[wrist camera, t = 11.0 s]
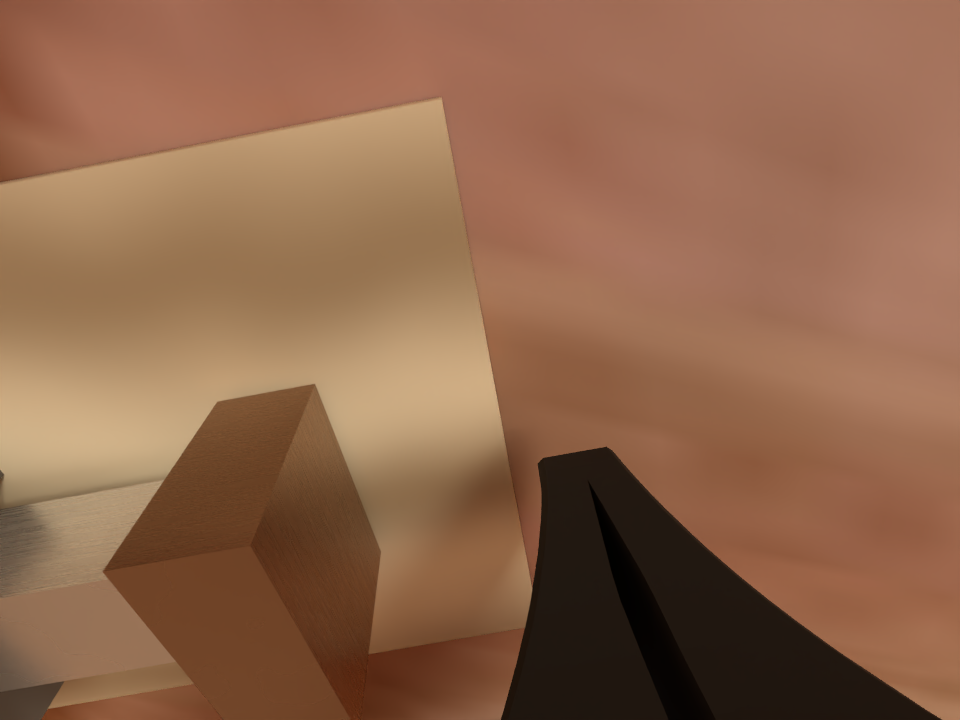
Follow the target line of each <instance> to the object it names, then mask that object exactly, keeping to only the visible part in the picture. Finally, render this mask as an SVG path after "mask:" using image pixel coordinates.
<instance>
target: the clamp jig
mask: <svg viewBox="0 0 960 720" xmlns="http://www.w3.org/2000/svg"><path fill="white" fill-rule="evenodd" d="M311 384H315V385H316V387H317V390H318V393H319V395H320V398H321V400H322V403H323V405H324V408H325V410H326V413H327V415H328V418H329V421H330V423H331V426H332V428H333V431H334V433H335V436H336V438H337V441H338V443H339V446H340V449H341V451H342V454H343V456H344V459H345V461H346V464H347V466H348V469H349V471H350V474H351V477H352V479H353V482H354V484H355V487H356V489H357V492H358V494H359V497H360V499H361V502H362V505H363V507H364V510H365V512H366V515H367V517H368V520H369V522H370V525H371V527H372V530H373V532H374V535H375V538H376V540H377V543H378V545H379V548H380V550H381V557H380V565H379V573H378V581H377V590H376V598H375V606H374V614H373V622H372V631H371V639H370V647H369V654H374V653H379V652H385V651H391V650H397V649H403V648H409V647H415V646H421V645H427V644H432V643H438V642H444V641H450V640H456V639H462V638H468V637H474V636H480V635H485V634H491V633H497V632H503V631H509V630H515V629H521V628H525V626H526V621H527V616H528V611H529V606H530V601H531V595H532V585H531V580H530V574H529V569H528V563H527V558H526V552H525V547H524V542H523V536H522V531H521V525H520V520H519V515H518V509H517V504H516V498H515V493H514V487H513V482H512V477H511V471H510V466H509V460H508V455H507V449H506V444H505V439H504V433H503V428H502V422H501V417H500V412H499V406H498V401H497V395H496V390H495V384H494V379H493V374H492V368H491V363H490V357H489V352H488V346H487V341H486V336H485V330H484V325H483V319H482V314H481V309H480V303H479V298H478V292H477V287H476V281H475V276H474V271H473V265H472V260H471V254H470V249H469V243H468V238H467V233H466V227H465V222H464V216H463V211H462V206H461V200H460V195H459V189H458V184H457V178H456V173H455V168H454V162H453V157H452V151H451V146H450V141H449V135H448V130H447V124H446V119H445V113H444V108H443V103H442V97H437V98H432V99H427V100H421V101H416V102H411V103H406V104H401V105H396V106H391V107H386V108H380V109H375V110H370V111H365V112H360V113H355V114H350V115H344V116H339V117H334V118H329V119H324V120H319V121H314V122H308V123H303V124H298V125H293V126H288V127H283V128H278V129H273V130H267V131H262V132H257V133H252V134H247V135H242V136H237V137H231V138H226V139H221V140H216V141H211V142H206V143H201V144H195V145H190V146H185V147H180V148H175V149H170V150H165V151H160V152H154V153H149V154H144V155H139V156H134V157H129V158H124V159H118V160H113V161H108V162H103V163H98V164H93V165H88V166H82V167H77V168H72V169H67V170H62V171H57V172H52V173H47V174H41V175H36V176H31V177H26V178H21V179H16V180H11V181H5V182H0V509H5V508H11V507H16V506H22V505H27V504H33V503H38V502H44V501H50V500H55V499H61V498H66V497H72V496H77V495H83V494H89V493H94V492H100V491H105V490H111V489H116V488H122V487H128V486H133V485H139V484H144V483H150V482H155V481H161V480H165V478H166V477H167V475H168V474H169V472H170V471H171V469H172V468H173V466H174V465H175V463H176V462H177V460H178V459H179V458H180V456H181V455H182V453H183V452H184V450H185V449H186V447H187V446H188V444H189V443H190V441H191V440H192V438H193V437H194V435H195V434H196V432H197V431H198V429H199V428H200V426H201V425H202V423H203V422H204V421H205V419H206V418H207V416H208V415H209V413H210V412H211V410H212V409H213V407H214V406H215V404H216V403H217V402H218V401H223V400H229V399H234V398H240V397H245V396H251V395H256V394H262V393H267V392H273V391H278V390H284V389H289V388H294V387H300V386H305V385H311ZM191 684H194V683H193V682H192V681H191V679H190V678H189V677H188V676H187V674H186V673H185V672H184V671H183V670H182V668H181V667H180V666H179V665H178V663H177V662H172V663H167V664H161V665H155V666H149V667H143V668H137V669H132V670H126V671H120V672H114V673H108V674H102V675H96V676H91V677H85V678H79V679H73V680H67V681H61V682H56V683H50V684H44V685H38V686H32V687H26V688H20V689H15V690H9V691H3V692H0V720H41V719H42V717H43V716H44V714H45V712H46V711H47V709H50V708H56V707H62V706H67V705H73V704H79V703H85V702H91V701H97V700H103V699H109V698H115V697H120V696H126V695H132V694H138V693H144V692H150V691H156V690H162V689H168V688H173V687H179V686H185V685H191Z"/></svg>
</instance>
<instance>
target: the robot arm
mask: <svg viewBox="0 0 960 720" xmlns="http://www.w3.org/2000/svg"><path fill="white" fill-rule="evenodd" d="M538 469H539V476H540V483H541V490H542V508H541V526H540V537H539V548H538V557H537V564H536V570H535V576H534V582H533V589H532V595H531V601H530V606H529V611H528V616H527V621H526V626H525V630H524V635H523V639H522V643H521V647H520V652H519V656H518V660H517V664H516V668H515V671H514V675H513V679H512V682H511V686H510V690H509V693H508V697H507V700H506V704H505V708H504V711H503V715H502V718H501V720H942V719H940V718H938V717H937V716H935V715H933V714H932V713H930V712H929V711H927V710H925V709H924V708H922V707H921V706H919V705H918V704H916V703H915V702H913V701H912V700H910V699H909V698H907V697H906V696H904V695H903V694H901V693H900V692H898V691H897V690H895V689H894V688H892V687H891V686H889V685H888V684H886V683H885V682H883V681H882V680H880V679H879V678H877V677H876V676H874V675H873V674H871V673H870V672H868V671H867V670H865V669H864V668H862V667H861V666H859V665H858V664H856V663H855V662H853V661H852V660H850V659H849V658H847V657H846V656H844V655H843V654H841V653H840V652H838V651H837V650H835V649H834V648H833V647H831V646H830V645H828V644H827V643H826V642H824V641H823V640H822V639H820V638H819V637H817V636H816V635H815V634H813V633H812V632H811V631H809V630H808V629H806V628H805V627H804V626H802V625H801V624H800V623H798V622H797V621H795V620H794V619H793V618H792V617H790V616H789V615H788V614H786V613H785V612H784V611H782V610H781V609H780V608H779V607H777V606H776V605H775V604H773V603H772V602H771V601H769V600H768V599H767V598H766V597H764V596H763V595H762V594H761V593H759V592H758V591H757V590H756V589H754V588H753V587H752V586H751V585H749V584H748V583H747V582H746V581H745V580H743V579H742V578H741V577H740V576H739V575H737V574H736V573H735V572H734V571H733V570H731V569H730V568H729V567H728V566H727V565H726V564H725V563H723V562H722V561H721V560H720V559H719V558H718V557H717V556H715V555H714V554H713V553H712V552H711V551H710V550H708V549H707V548H706V547H705V546H704V545H703V544H702V543H701V542H700V541H699V540H698V539H696V538H695V537H694V536H693V535H692V534H691V533H690V532H689V531H688V530H687V529H686V528H685V527H684V526H683V525H682V524H681V523H680V522H679V521H678V520H676V519H675V518H674V517H673V516H672V515H671V514H670V513H669V512H668V511H667V510H666V509H665V508H664V507H663V506H662V505H661V504H660V503H659V502H658V501H657V500H656V499H655V498H654V497H653V496H652V495H651V494H650V492H649V491H648V490H647V489H646V488H645V487H644V486H643V485H642V484H641V483H640V482H639V481H638V480H637V479H636V477H635V476H634V475H633V474H632V473H631V472H630V471H629V470H628V469H627V467H626V466H625V465H624V464H623V463H622V462H621V460H620V459H619V458H618V457H617V456H616V454H615V453H614V452H613V451H612V450H611V449H609V448H608V447H603V448H597V449H592V450H586V451H580V452H575V453H569V454H563V455H558V456H552V457H546V458H543V459H542V460H541V461H540V462H539V463H538Z"/></svg>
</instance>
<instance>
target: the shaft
mask: <svg viewBox="0 0 960 720" xmlns="http://www.w3.org/2000/svg"><path fill="white" fill-rule="evenodd" d="M380 557H381V550H380V548H379V545H378V543H377V540H376V538H375V535H374V532H373V530H372V527H371V525H370V522H369V520H368V517H367V515H366V512H365V510H364V507H363V505H362V502H361V499H360V497H359V494H358V492H357V489H356V487H355V484H354V482H353V479H352V477H351V474H350V471H349V469H348V466H347V464H346V461H345V459H344V456H343V454H342V451H341V449H340V446H339V443H338V441H337V438H336V436H335V433H334V431H333V428H332V426H331V423H330V421H329V418H328V415H327V413H326V410H325V408H324V405H323V403H322V400H321V398H320V395H319V393H318V390H317V387H316V385H315V384H311V385H305V386H300V387H294V388H289V389H284V390H278V391H273V392H267V393H262V394H256V395H251V396H245V397H240V398H234V399H229V400H223V401H218V402H217V403H216V404H215V406H214V407H213V409H212V410H211V412H210V413H209V415H208V416H207V418H206V419H205V421H204V422H203V423H202V425H201V426H200V428H199V429H198V431H197V432H196V434H195V435H194V437H193V438H192V440H191V441H190V443H189V444H188V446H187V447H186V449H185V450H184V452H183V453H182V455H181V456H180V458H179V459H178V460H177V462H176V463H175V465H174V466H173V468H172V469H171V471H170V472H169V474H168V475H167V477H166V478H165V480H161V481H155V482H150V483H144V484H139V485H133V486H128V487H122V488H116V489H111V490H105V491H100V492H94V493H89V494H83V495H77V496H72V497H66V498H61V499H55V500H50V501H44V502H38V503H33V504H27V505H22V506H16V507H11V508H5V509H0V692H3V691H9V690H15V689H20V688H26V687H32V686H38V685H44V684H50V683H56V682H61V681H67V680H73V679H79V678H85V677H91V676H96V675H102V674H108V673H114V672H120V671H126V670H132V669H137V668H143V667H149V666H155V665H161V664H167V663H172V662H177V663H178V665H179V666H180V667H181V668H182V670H183V671H184V672H185V673H186V674H187V676H188V677H189V678H190V679H191V681H192V682H193V683H194V684H195V685H196V687H197V688H198V689H199V690H200V692H201V693H202V694H203V695H204V696H205V698H206V699H207V700H208V701H209V703H210V704H211V705H212V706H213V707H214V709H215V710H216V711H217V712H218V714H219V715H220V716H221V717H222V718H223V720H361V713H362V705H363V696H364V688H365V680H366V672H367V663H368V655H369V647H370V639H371V631H372V622H373V614H374V606H375V598H376V590H377V581H378V573H379V565H380Z"/></svg>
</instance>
